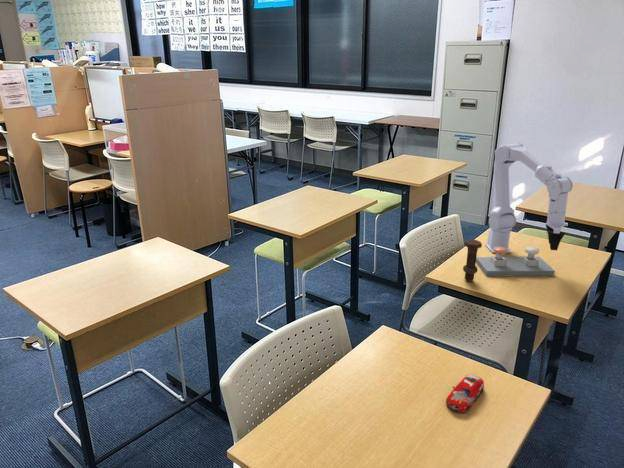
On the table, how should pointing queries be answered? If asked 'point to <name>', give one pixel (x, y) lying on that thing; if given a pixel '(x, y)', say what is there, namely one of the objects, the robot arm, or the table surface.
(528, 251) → the grey plunger
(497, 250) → the terracotta plunger
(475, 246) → the bolt
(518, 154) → the robot arm
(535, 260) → the press plate
